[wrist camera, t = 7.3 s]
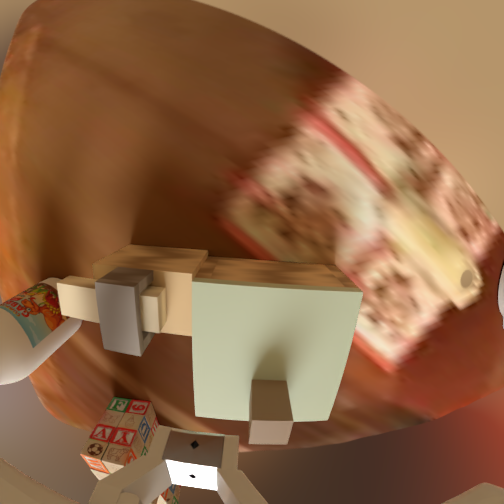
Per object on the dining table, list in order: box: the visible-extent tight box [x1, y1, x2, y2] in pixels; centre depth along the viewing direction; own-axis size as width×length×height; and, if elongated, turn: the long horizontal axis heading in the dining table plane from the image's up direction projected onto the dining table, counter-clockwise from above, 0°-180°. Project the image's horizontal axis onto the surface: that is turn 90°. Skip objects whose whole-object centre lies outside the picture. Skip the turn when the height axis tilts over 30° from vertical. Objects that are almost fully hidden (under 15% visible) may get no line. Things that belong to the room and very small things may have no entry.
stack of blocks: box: [80, 397, 181, 504], centre depth 29 cm, size 21×6×12 cm, turn 3°
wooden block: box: [57, 276, 167, 333], centre depth 19 cm, size 9×3×2 cm, turn 86°
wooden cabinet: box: [92, 244, 358, 356], centre depth 24 cm, size 22×15×12 cm
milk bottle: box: [0, 278, 82, 385], centre depth 20 cm, size 8×8×20 cm
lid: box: [192, 277, 363, 444], centre depth 20 cm, size 13×14×6 cm
